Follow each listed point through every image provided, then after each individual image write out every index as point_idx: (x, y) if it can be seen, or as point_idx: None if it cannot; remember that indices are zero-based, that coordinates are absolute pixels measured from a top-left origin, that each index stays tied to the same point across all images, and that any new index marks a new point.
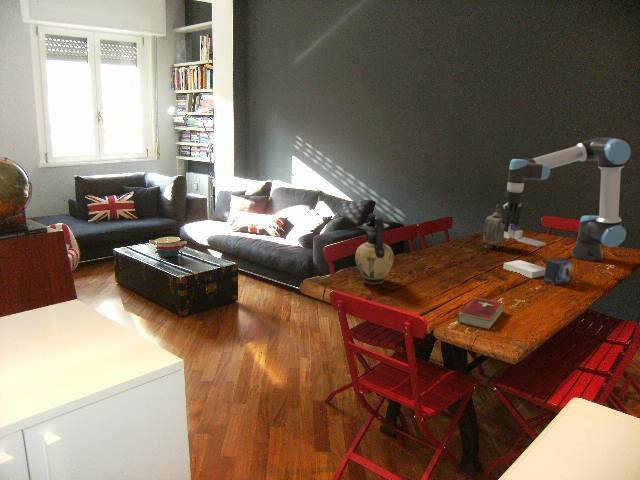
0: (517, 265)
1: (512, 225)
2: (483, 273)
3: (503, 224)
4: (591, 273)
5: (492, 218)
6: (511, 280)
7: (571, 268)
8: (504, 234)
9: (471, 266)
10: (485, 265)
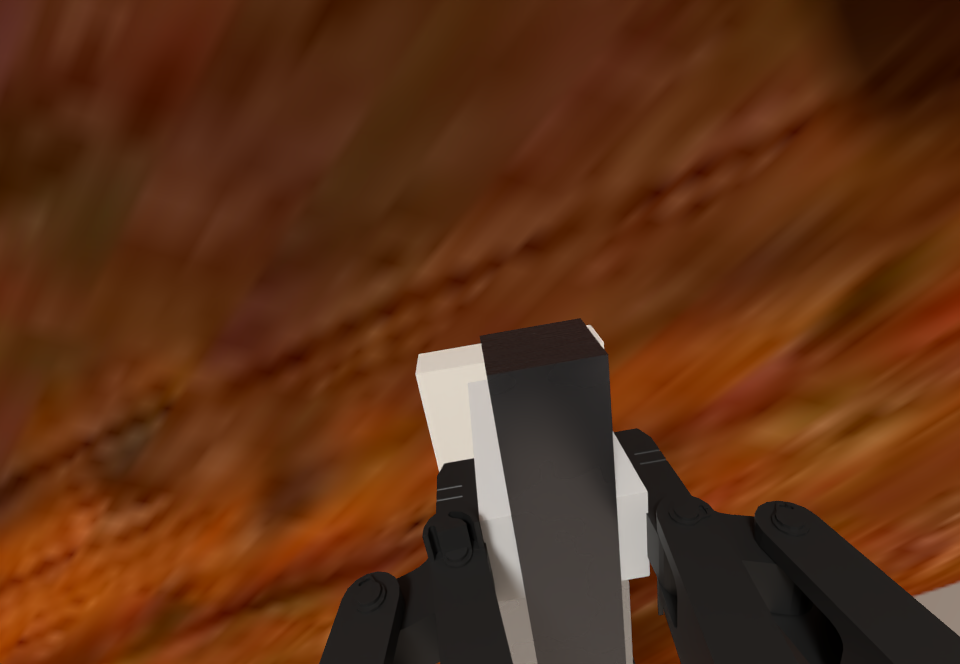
0: (472, 445)
1: (573, 592)
2: (209, 400)
3: (499, 446)
4: (855, 540)
5: None
6: (316, 534)
7: None
8: (471, 411)
9: (198, 239)
10: (335, 248)
